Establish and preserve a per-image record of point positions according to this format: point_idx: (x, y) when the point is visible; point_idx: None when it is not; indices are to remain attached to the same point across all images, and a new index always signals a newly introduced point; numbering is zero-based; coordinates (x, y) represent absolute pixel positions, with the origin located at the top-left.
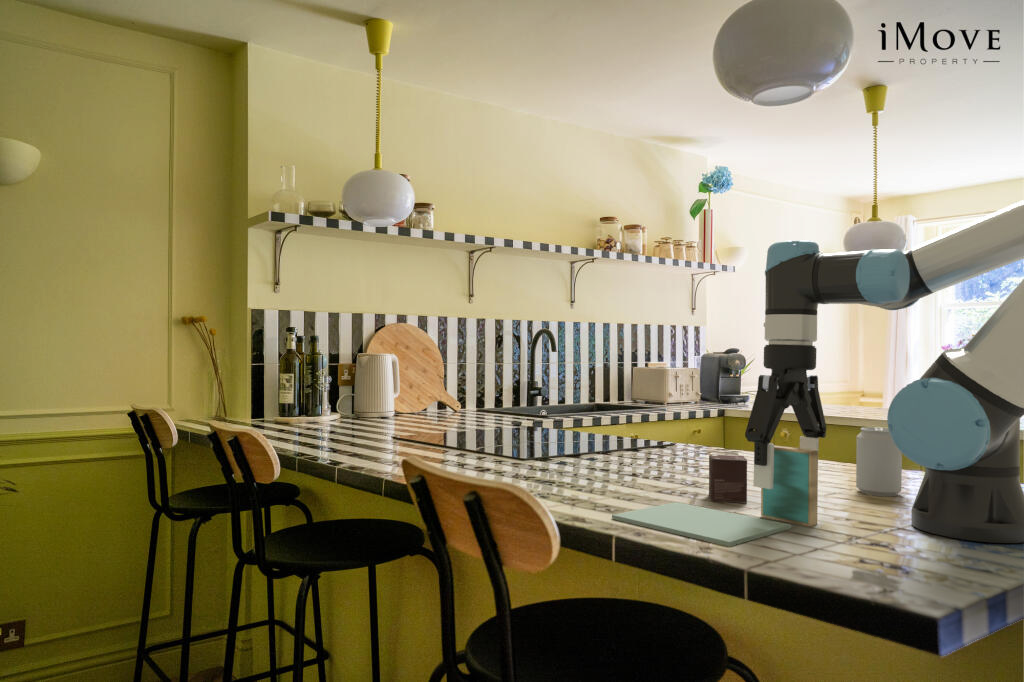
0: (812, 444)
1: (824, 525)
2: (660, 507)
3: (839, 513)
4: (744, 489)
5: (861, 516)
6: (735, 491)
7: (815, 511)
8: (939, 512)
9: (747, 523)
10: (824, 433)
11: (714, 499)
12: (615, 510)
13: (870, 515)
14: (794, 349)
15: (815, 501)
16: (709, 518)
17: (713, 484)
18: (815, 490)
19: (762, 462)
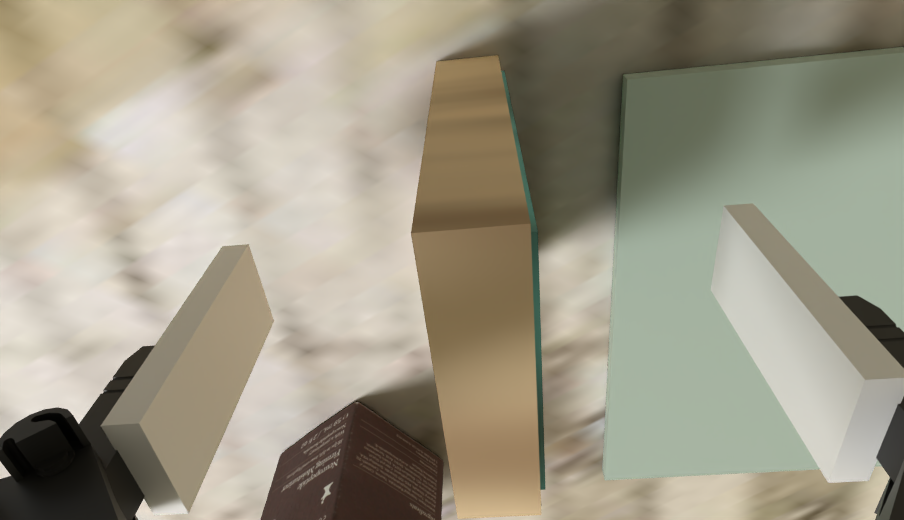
0: (173, 405)
1: (425, 30)
2: (725, 458)
3: (144, 134)
4: (357, 442)
5: (87, 42)
6: (383, 450)
7: (455, 76)
8: None
9: (752, 187)
10: (23, 438)
11: (437, 459)
12: (806, 504)
13: (22, 30)
14: None
15: (455, 91)
16: None
17: (437, 507)
18: (453, 113)
19: (882, 310)
